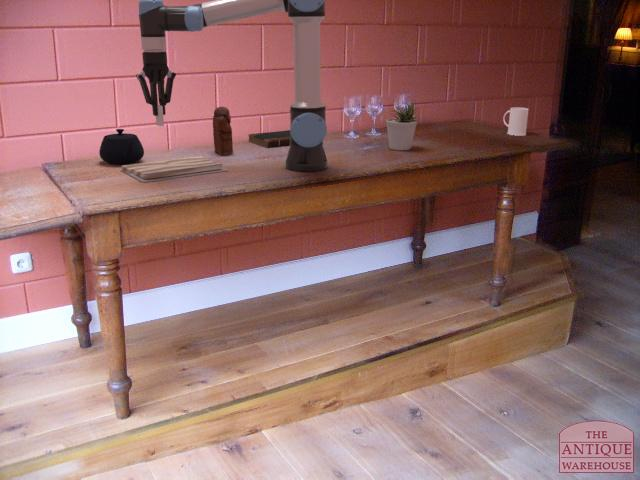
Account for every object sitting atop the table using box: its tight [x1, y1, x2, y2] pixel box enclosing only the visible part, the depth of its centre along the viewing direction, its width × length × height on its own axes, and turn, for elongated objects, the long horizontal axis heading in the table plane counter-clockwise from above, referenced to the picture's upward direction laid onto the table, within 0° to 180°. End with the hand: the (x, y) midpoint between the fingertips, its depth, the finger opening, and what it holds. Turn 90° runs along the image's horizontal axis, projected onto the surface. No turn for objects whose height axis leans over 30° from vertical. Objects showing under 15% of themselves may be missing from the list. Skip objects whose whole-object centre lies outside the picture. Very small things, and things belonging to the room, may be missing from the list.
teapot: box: [98, 128, 145, 166], centre depth 238 cm, size 25×16×12 cm, turn 34°
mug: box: [502, 106, 530, 137], centre depth 307 cm, size 12×8×12 cm
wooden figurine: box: [212, 106, 234, 157], centre depth 256 cm, size 12×6×18 cm, turn 25°
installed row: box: [121, 155, 210, 174], centre depth 234 cm, size 7×30×1 cm, turn 126°
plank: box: [133, 159, 223, 179], centre depth 226 cm, size 11×28×2 cm, turn 126°
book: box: [247, 129, 290, 149], centre depth 282 cm, size 17×4×25 cm
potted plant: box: [385, 100, 420, 152], centre depth 268 cm, size 13×14×20 cm
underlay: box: [120, 167, 229, 184], centre depth 229 cm, size 20×31×1 cm, turn 126°
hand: (160, 125), depth 217 cm, fingers closed
